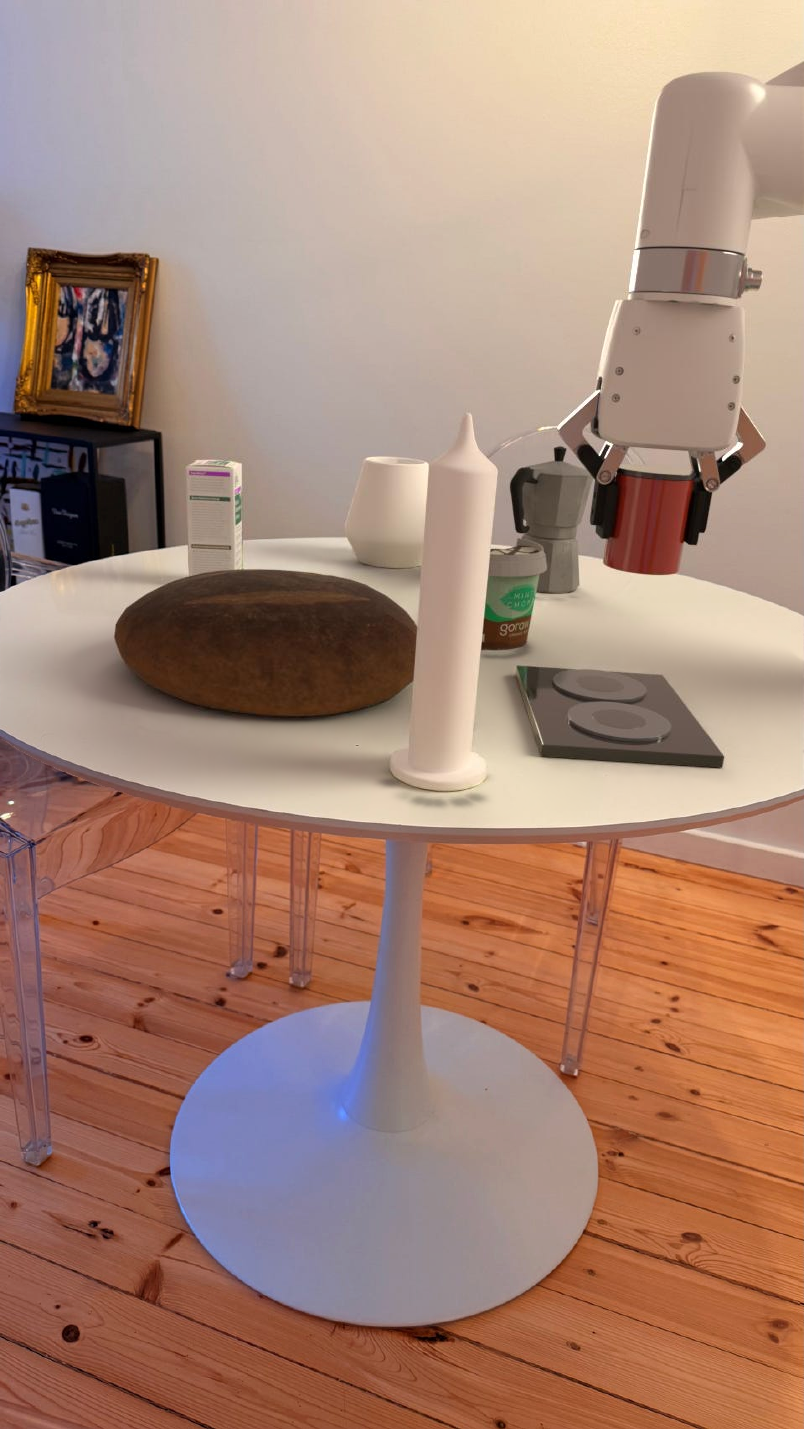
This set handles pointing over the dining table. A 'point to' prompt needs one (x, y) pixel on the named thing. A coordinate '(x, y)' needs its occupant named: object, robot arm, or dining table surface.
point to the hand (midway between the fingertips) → (645, 536)
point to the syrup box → (214, 516)
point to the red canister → (649, 519)
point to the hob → (613, 717)
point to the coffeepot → (552, 516)
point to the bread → (270, 642)
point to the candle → (450, 620)
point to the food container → (511, 594)
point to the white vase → (389, 512)
